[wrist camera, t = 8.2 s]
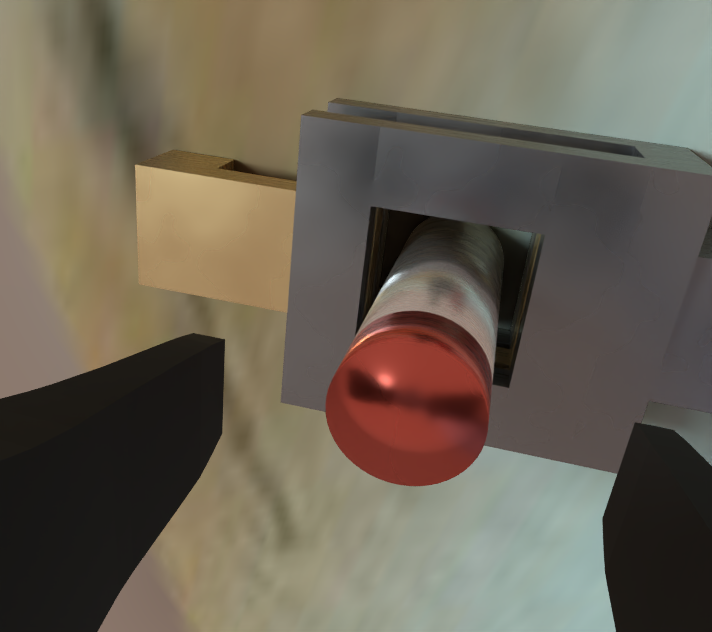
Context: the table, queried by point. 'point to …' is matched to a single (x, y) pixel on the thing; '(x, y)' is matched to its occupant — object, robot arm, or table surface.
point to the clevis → (475, 205)
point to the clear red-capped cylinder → (423, 359)
